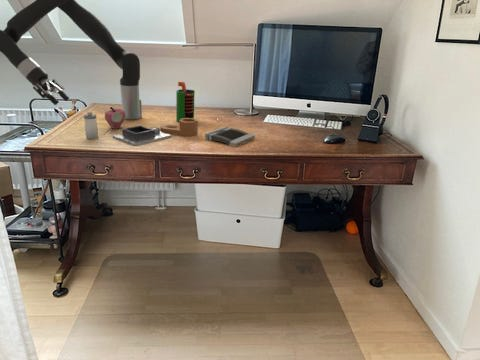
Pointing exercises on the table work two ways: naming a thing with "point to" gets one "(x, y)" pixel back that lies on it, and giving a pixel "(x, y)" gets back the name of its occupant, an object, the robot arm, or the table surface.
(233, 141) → the grey square tray
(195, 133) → the bracket
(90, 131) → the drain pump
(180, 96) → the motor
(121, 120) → the apple
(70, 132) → the table surface
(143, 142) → the mount plate
